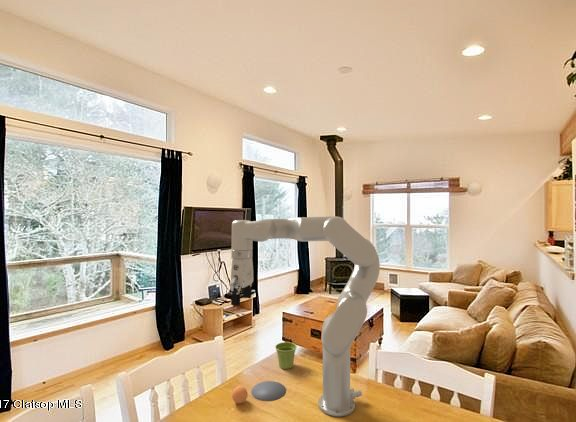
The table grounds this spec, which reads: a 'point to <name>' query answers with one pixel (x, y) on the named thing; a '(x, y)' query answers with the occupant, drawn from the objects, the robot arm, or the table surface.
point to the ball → (239, 394)
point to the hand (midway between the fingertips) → (241, 301)
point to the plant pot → (285, 354)
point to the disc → (268, 391)
